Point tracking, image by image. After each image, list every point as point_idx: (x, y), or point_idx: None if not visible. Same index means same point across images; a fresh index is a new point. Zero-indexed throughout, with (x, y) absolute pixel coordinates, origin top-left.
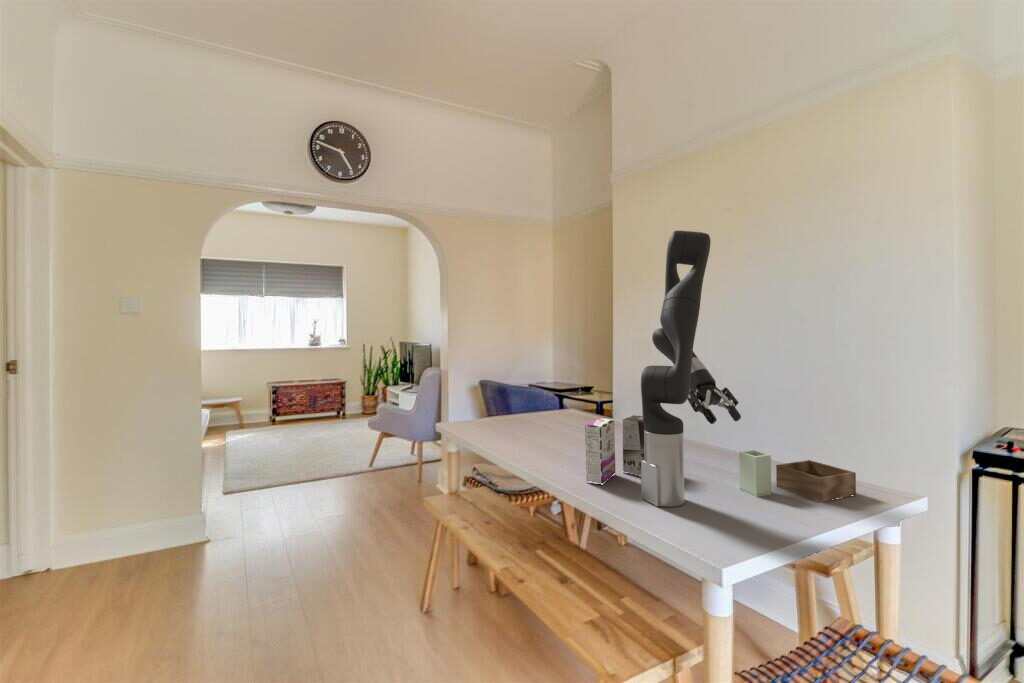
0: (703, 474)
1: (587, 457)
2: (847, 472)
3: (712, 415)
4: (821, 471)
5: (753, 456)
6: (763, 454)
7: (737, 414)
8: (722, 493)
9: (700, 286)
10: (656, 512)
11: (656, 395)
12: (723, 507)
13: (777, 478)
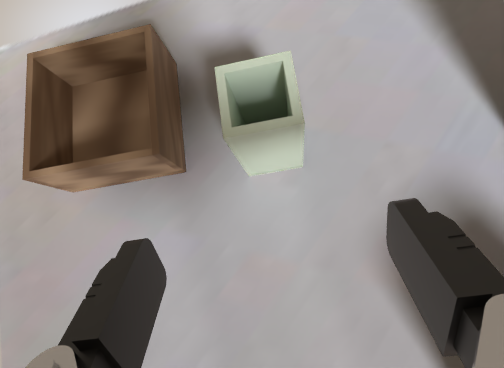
0: (321, 331)
1: None
2: (35, 69)
3: (433, 223)
4: (49, 142)
5: (292, 60)
6: (227, 88)
7: (136, 253)
8: (367, 155)
9: None
10: None
11: None
12: (425, 69)
13: (176, 162)
